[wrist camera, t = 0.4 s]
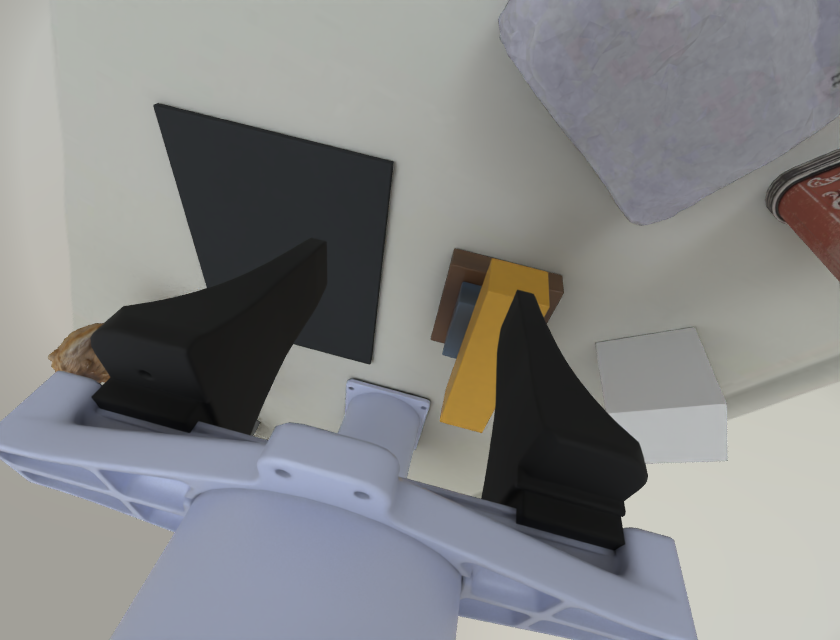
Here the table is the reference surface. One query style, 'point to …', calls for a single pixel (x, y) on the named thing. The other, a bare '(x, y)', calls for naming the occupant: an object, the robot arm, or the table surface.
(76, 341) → the lion figurine
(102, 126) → the table surface
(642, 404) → the white cube
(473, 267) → the brown blue stepped block
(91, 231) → the table surface
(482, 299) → the bar
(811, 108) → the stone block
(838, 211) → the lighter
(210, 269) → the mat
